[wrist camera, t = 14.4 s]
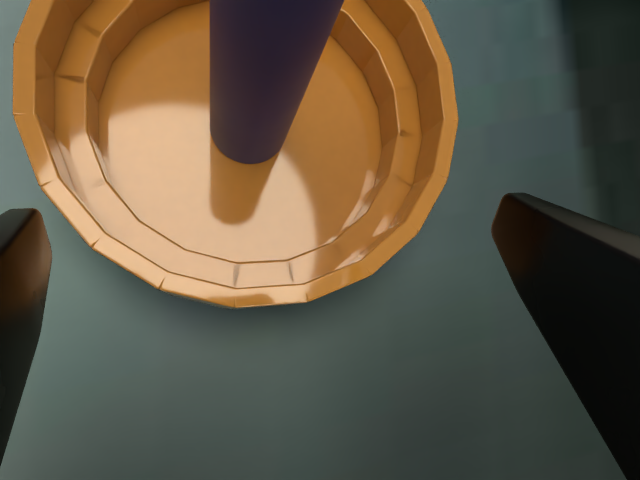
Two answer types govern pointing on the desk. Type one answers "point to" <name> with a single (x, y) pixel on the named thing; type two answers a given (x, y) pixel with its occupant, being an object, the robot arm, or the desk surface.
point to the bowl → (216, 168)
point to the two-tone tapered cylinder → (262, 70)
